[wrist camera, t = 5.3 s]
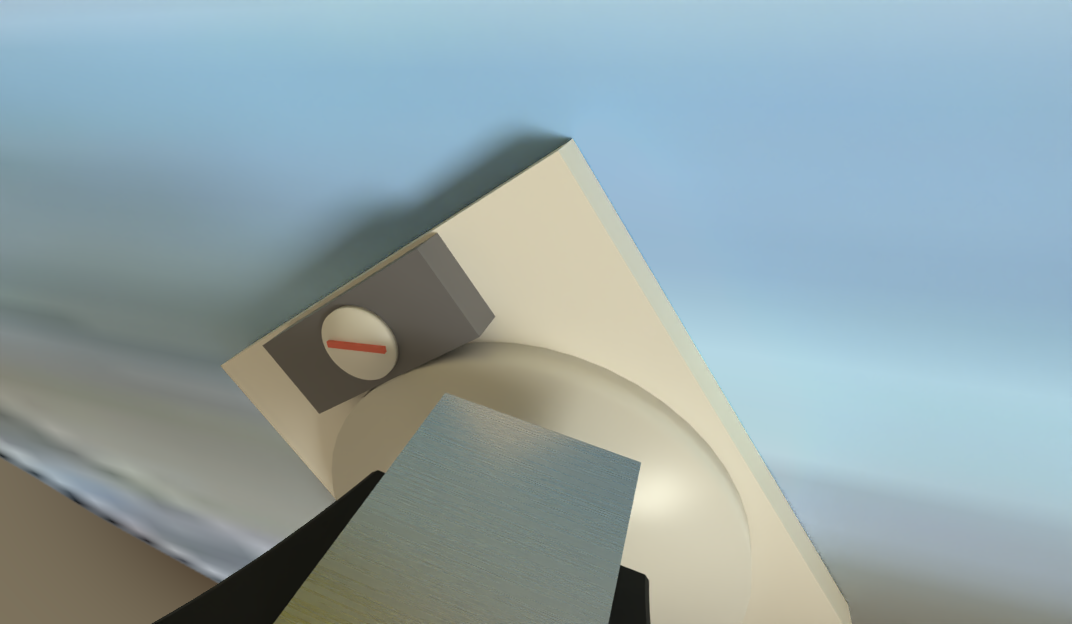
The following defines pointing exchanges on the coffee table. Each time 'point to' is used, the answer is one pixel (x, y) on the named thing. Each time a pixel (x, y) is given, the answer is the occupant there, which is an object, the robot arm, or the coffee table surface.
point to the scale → (549, 387)
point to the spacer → (479, 530)
